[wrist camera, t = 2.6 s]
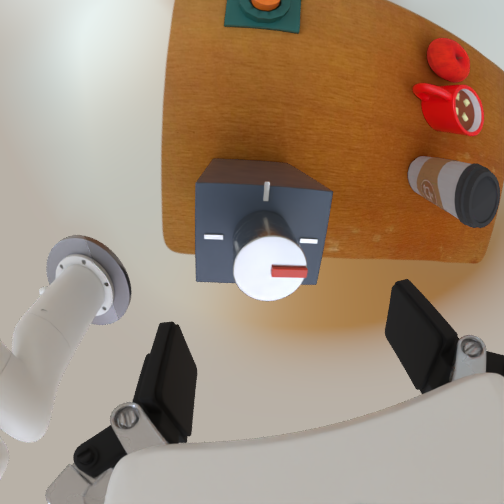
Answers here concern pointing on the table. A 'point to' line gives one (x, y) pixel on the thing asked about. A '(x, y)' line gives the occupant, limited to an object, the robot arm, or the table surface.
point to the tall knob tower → (256, 199)
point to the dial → (267, 257)
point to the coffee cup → (457, 188)
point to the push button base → (264, 16)
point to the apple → (448, 60)
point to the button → (265, 4)
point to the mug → (451, 108)
